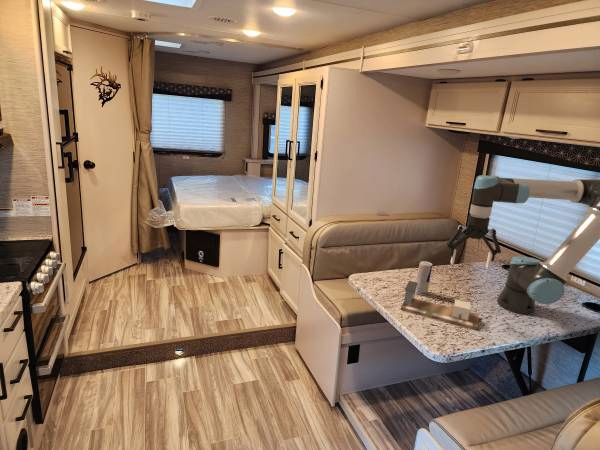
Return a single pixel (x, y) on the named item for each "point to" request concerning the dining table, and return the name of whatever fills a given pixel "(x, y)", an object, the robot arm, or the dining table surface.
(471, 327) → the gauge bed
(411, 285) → the two-tone oblong block
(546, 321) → the dining table surface
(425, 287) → the beverage can
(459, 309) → the cream cube with rod
